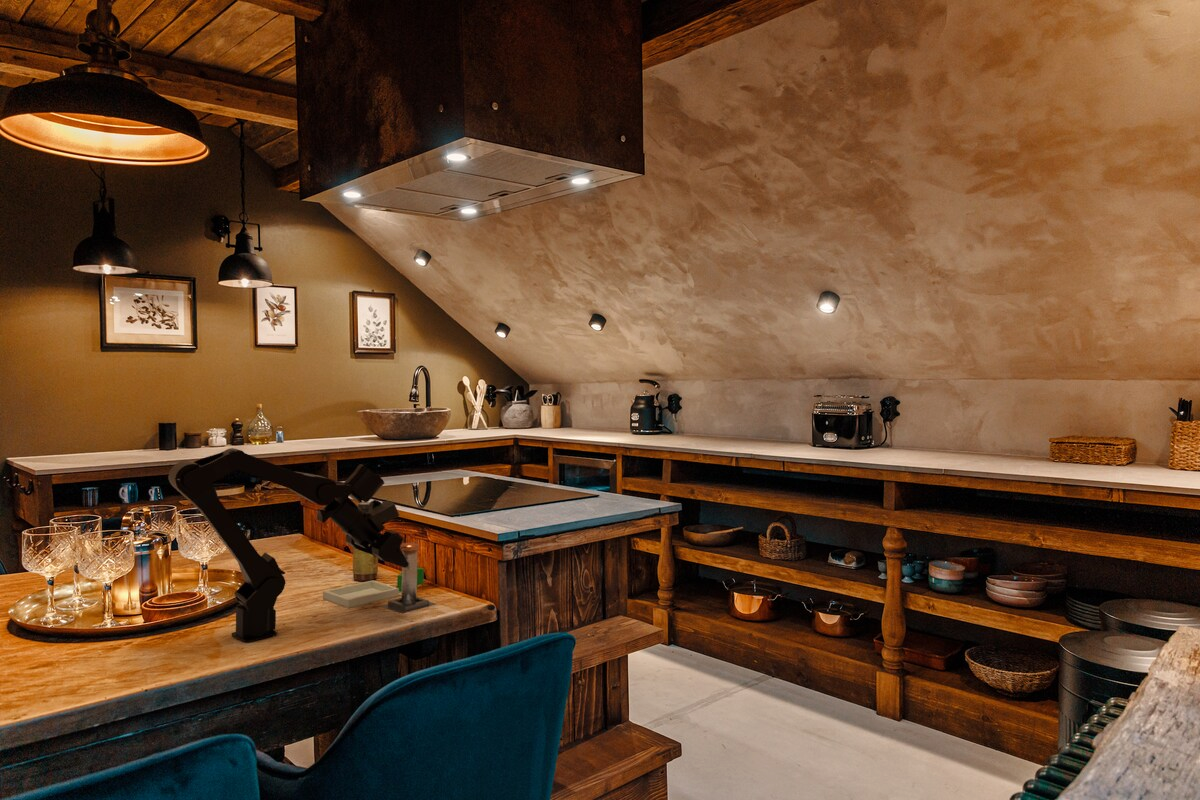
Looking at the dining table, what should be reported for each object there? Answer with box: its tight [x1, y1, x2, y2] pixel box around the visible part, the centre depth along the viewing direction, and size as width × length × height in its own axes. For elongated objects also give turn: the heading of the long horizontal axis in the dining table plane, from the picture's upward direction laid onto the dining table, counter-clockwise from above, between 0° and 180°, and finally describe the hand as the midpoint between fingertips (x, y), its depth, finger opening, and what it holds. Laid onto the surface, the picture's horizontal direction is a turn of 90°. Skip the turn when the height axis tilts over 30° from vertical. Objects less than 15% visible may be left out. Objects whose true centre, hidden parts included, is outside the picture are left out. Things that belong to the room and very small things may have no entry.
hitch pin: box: [400, 542, 420, 605], centre depth 172 cm, size 4×4×14 cm
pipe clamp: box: [396, 564, 425, 593], centre depth 188 cm, size 11×4×5 cm, turn 173°
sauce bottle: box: [352, 501, 379, 582], centre depth 195 cm, size 6×6×20 cm
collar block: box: [379, 596, 437, 614], centre depth 172 cm, size 10×8×1 cm
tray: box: [322, 579, 400, 609], centre depth 177 cm, size 14×11×2 cm
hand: (397, 561), depth 170 cm, fingers open, 9 cm apart
